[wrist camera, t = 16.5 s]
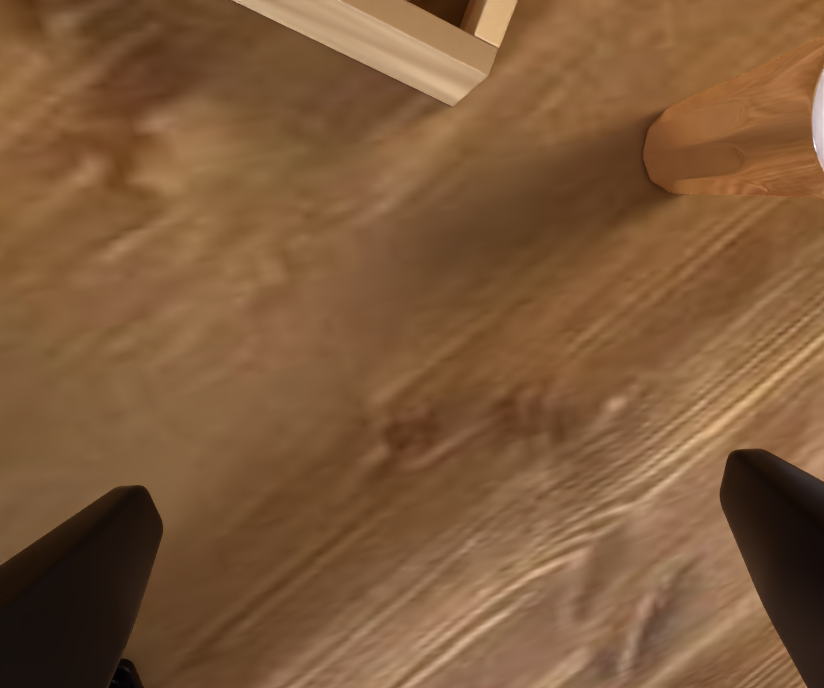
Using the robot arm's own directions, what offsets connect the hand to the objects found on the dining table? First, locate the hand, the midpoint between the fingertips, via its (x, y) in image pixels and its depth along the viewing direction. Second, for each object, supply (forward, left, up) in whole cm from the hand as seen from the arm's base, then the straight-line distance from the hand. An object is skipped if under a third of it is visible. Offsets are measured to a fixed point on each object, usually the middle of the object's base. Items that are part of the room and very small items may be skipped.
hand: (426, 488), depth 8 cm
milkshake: (+4, -13, -12) cm, 19 cm away
